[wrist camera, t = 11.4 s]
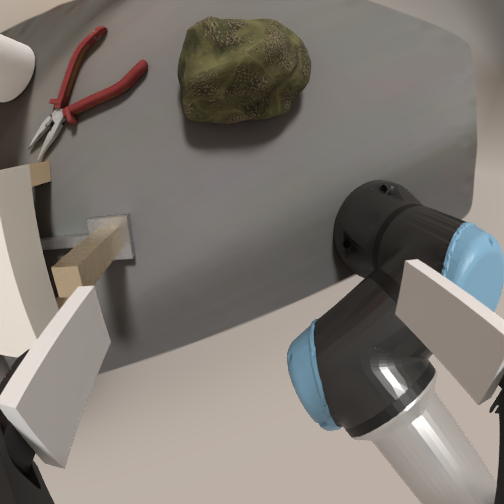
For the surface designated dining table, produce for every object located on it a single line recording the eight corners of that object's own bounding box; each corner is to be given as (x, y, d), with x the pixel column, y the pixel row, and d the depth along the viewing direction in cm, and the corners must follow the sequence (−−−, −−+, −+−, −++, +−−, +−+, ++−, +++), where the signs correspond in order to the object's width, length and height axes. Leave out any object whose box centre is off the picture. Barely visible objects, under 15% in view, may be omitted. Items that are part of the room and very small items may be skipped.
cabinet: (49, 160, 33) (-6, 171, 21) (78, 311, 41) (46, 360, 29) (-11, 177, 31) (-63, 192, 19) (20, 310, 39) (-16, 351, 27)
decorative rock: (284, 139, 38) (310, 147, 29) (168, 117, 34) (158, 117, 25) (308, 43, 32) (340, 26, 23) (194, 15, 28) (194, -14, 19)
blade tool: (127, 198, 36) (83, 229, 22) (137, 267, 40) (106, 326, 26) (-6, 218, 34) (-64, 249, 20) (7, 274, 37) (-42, 317, 23)
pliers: (18, 132, 30) (8, 133, 28) (104, 26, 28) (98, 20, 25) (59, 178, 34) (51, 180, 32) (153, 68, 31) (149, 63, 29)
